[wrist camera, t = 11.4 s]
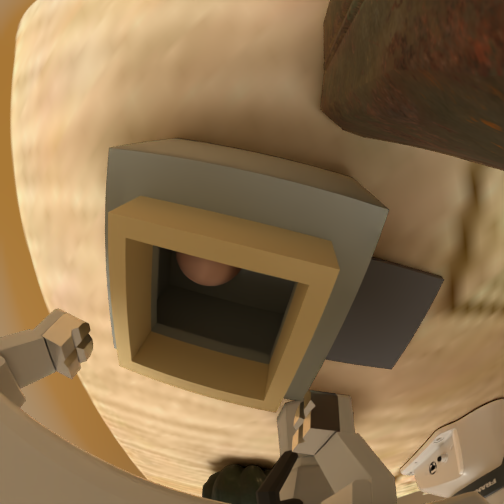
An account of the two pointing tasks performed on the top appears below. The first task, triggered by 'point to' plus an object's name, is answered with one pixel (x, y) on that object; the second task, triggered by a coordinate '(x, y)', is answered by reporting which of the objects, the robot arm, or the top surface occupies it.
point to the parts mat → (384, 314)
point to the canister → (418, 74)
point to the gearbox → (235, 254)
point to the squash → (235, 484)
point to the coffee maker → (293, 470)
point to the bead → (205, 270)
